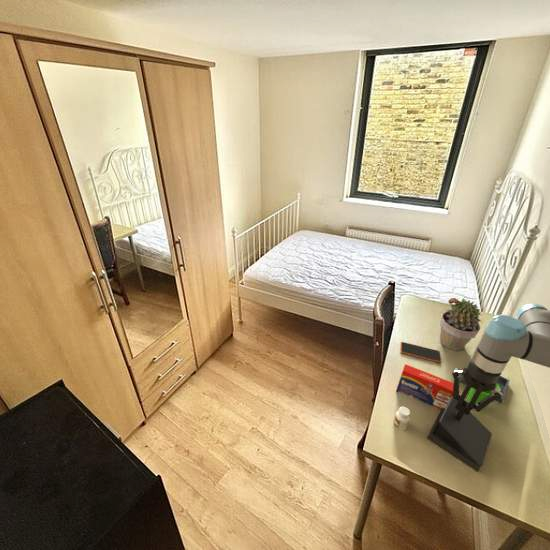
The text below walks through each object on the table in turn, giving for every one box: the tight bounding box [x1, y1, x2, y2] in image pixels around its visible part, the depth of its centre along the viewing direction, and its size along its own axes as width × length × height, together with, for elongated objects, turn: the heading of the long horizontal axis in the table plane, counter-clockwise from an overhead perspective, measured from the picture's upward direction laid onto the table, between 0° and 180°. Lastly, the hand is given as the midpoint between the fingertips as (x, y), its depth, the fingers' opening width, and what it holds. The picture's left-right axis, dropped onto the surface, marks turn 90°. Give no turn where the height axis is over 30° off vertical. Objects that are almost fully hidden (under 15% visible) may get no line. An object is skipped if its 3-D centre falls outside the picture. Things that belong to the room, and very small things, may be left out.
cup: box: [466, 383, 501, 410], centre depth 106 cm, size 9×9×11 cm
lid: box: [439, 395, 493, 467], centre depth 93 cm, size 15×14×1 cm
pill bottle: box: [393, 406, 411, 431], centre depth 100 cm, size 4×4×8 cm
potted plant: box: [439, 297, 484, 352], centre depth 132 cm, size 18×20×25 cm
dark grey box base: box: [426, 407, 482, 473], centre depth 96 cm, size 15×14×3 cm
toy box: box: [395, 363, 454, 410], centre depth 108 cm, size 18×4×12 cm, turn 58°
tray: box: [460, 375, 510, 404], centre depth 118 cm, size 14×13×2 cm
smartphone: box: [400, 341, 442, 364], centre depth 132 cm, size 8×17×1 cm, turn 69°
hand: (458, 417), depth 93 cm, fingers closed
